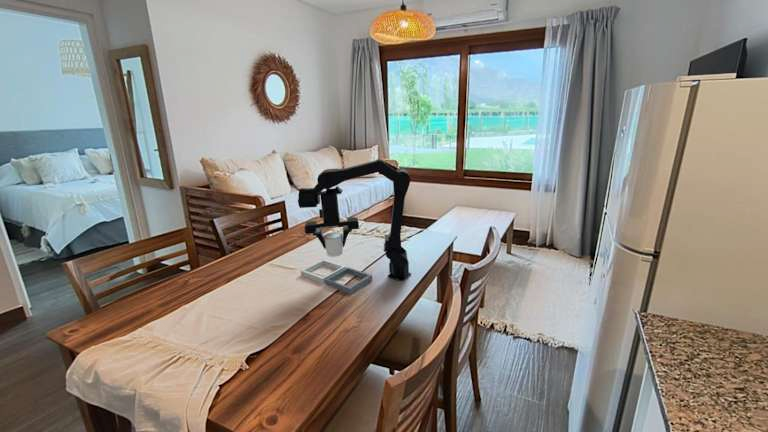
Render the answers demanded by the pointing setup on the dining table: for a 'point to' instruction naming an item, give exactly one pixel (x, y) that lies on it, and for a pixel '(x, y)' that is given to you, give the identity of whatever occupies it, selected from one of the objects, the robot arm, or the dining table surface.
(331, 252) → the shot glass
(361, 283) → the tray
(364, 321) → the dining table surface
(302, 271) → the tray
